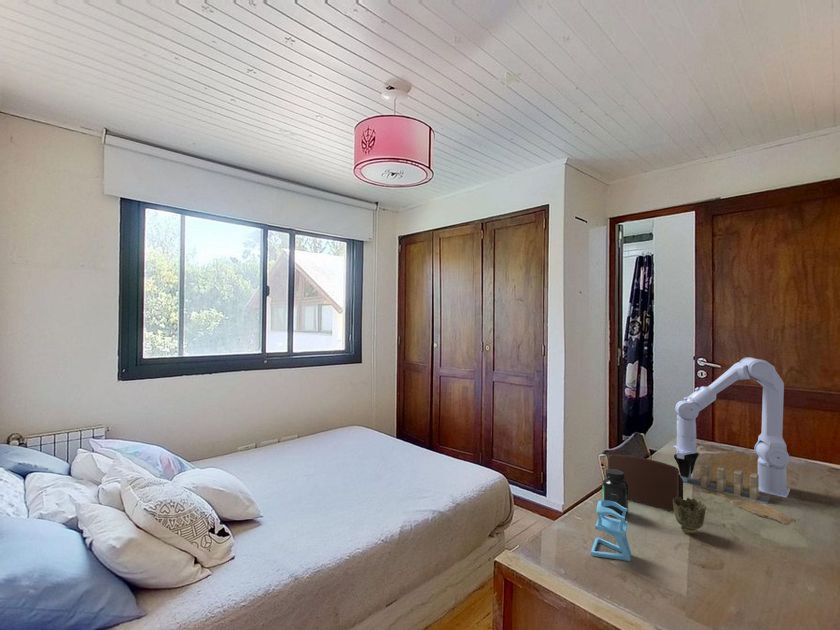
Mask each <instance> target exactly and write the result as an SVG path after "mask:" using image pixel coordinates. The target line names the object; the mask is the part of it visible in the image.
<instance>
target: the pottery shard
mask: <svg viewBox="0 0 840 630" xmlns="http://www.w3.org/2000/svg"><path fill="white" fill-rule="evenodd" d="M730 504H731V505H734V506H735V507H738V508H740V509H742V510H744V511H746V512H748V513H750V514H751V515H755V516H757V517H759V518H760V517H762V518H763V519H766V520H767V519H768V520H771V521H775V522H776V523H779V524H782V525H785V526H788V525H790V524H791V523H793V522H797V521H796V519H795V518H793V517H790V516H788V515H786V514H785V513H783V512H781V511H780V510H777V509H775V508H773V507H771V506H769V505H767V504H765V503H761V502H757V501H746V500H740V499H732V500H730Z"/></svg>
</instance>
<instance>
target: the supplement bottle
mask: <svg viewBox="0 0 840 630" xmlns="http://www.w3.org/2000/svg"><path fill="white" fill-rule="evenodd" d="M601 483H602V488H601V489H602V490H601V491H602V493H601V494H602V500H609V501H613V502H616V503H618V504H619V505H621V506H622V507H624V508H627V511H626V514H625V518H626V517H627V516H628V515H629V500H628V485H627V483H626V482H625V481H624V472H623V471H620V470H617V469H608V468H607V469H606V472H605V478H604V479H603V481H602V482H601ZM605 507H606V508H610V509H612V510H614V511H615V512H617V513H618V514H619V515H621V516H622V513H623V511H621V510H620V509H619V508H617V507H615V506H605ZM609 516H611V515H609ZM611 517H612V518H613V517H614V516H611ZM614 518H615V517H614Z"/></svg>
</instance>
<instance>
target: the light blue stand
mask: <svg viewBox="0 0 840 630" xmlns="http://www.w3.org/2000/svg"><path fill="white" fill-rule="evenodd" d="M605 506H615V507H617V508H619V509H620V510H621V511H623V513H622V516H621V515H619V514H618V513H617V512H615V511H614V510H612V509H610V508H606V507H605ZM595 510H596V515H597V521H596V523H595V527H594V528H595V529H594V530H597V531H601V532H604V533H606V534H608V535H610V536H611V537H612V538H614V540H615V542H616V543H617V544H618V545H617V544H614V543H613V542H610V541H607V540H605V539H602V538H601V537H595V539H594V542H593V545H592V547H591V549H590V550H591V551H590V553H591V556H593V557H598V558H605V559H613V560H621V561H626V562H630V561H631V556H632V551H631V548H630V544H629V541H628V536H627V534H626V533H627V529H628V524H629V523H628V521H627V520H626V517H625V514H626V511H627V508H624V507H622V506H621V505H619V504H618V503H616V502H613V501H609V500H603V499H602V500H598V501H597V506H596V509H595ZM606 515H607V516H606ZM610 515H611V517H609V516H610ZM613 516H614V518H613ZM598 543H599V544H602V545H604V546H606V547H608V548H610V549H612V550H614V551H616V552H607V551H598V550H597V547H598ZM596 550H597V551H596ZM617 552H619V553H617Z"/></svg>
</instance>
